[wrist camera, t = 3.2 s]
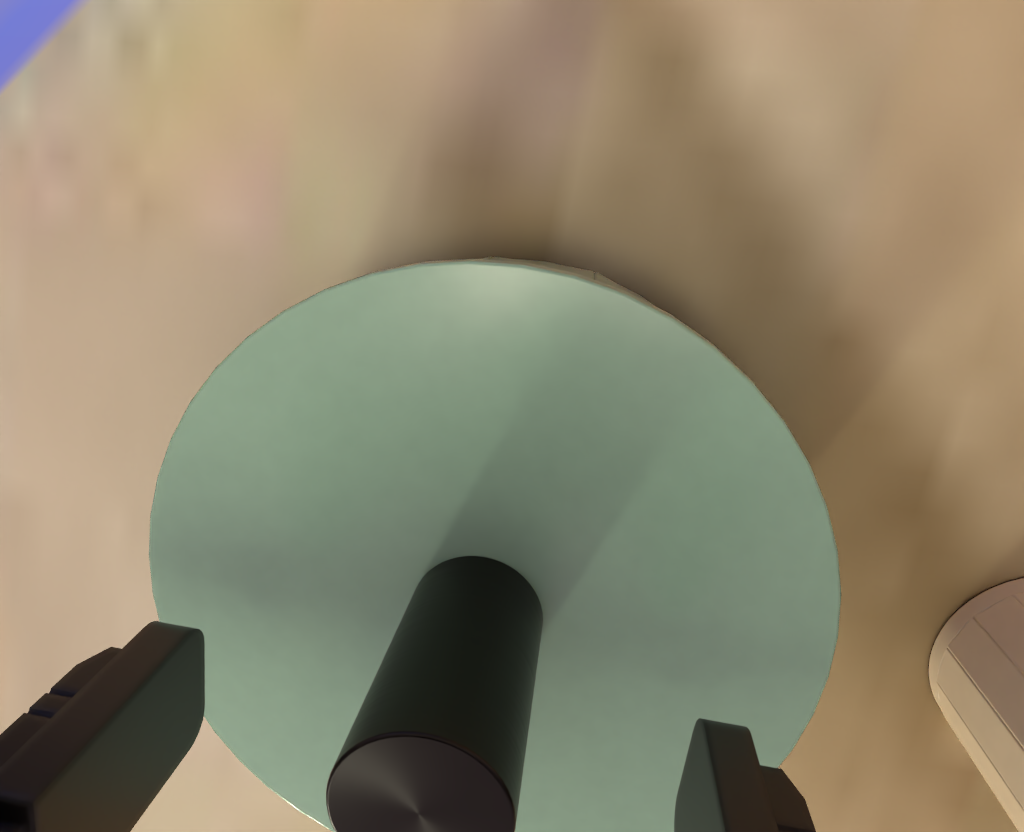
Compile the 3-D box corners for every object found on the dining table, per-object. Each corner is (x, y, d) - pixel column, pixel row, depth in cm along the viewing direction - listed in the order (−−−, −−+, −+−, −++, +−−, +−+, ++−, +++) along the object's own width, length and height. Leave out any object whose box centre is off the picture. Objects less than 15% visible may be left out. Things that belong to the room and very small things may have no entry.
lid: (913, 314, 13) (1160, 413, 7) (738, 890, 17) (806, 1237, 11) (172, 207, 14) (-125, 220, 8) (181, 777, 18) (-10, 1045, 12)
